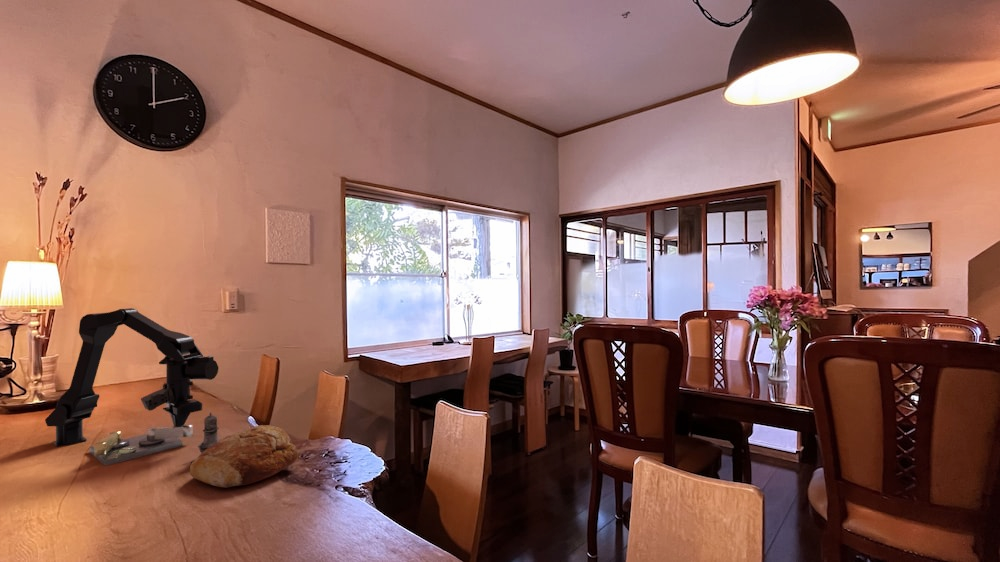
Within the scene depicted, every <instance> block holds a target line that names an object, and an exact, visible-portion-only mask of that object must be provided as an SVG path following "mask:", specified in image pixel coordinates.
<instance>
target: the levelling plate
mask: <svg viewBox="0 0 1000 562" xmlns="http://www.w3.org/2000/svg"><path fill="white" fill-rule="evenodd" d="M144 438H147V433H144V434H140V435H135V436H132V437H131V436H130V437H126V439H128V440H129V444H128V445H126V446H123V447H120V448H116V449H110V450H109V451H107V454H105V455H101V456H95V452H94V445H92V446H89V453H90V454H91V455H92V456H93V457H94V458H95V459H96V460H98V461H99V462H100V463H101V464H102V465H103V466H105V467H106V466H110V465H111V466H112V465H116V464H119V463H122V462H126V461H130V460H133V459H134V460H135V459H136V458H141V457H146V456H149V455H152V454H156V453H160V452H165V451H168V450H172V449H175V448H179V447H183V446H184V444H183V440H182V439H181V438H180V437H177V438H166V439H165V440H164V441H163V442H160V443H157V444H153V445H146V446H141V445H139V441H140V440H141V439H144Z"/></svg>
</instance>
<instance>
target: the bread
mask: <svg viewBox="0 0 1000 562" xmlns="http://www.w3.org/2000/svg"><path fill="white" fill-rule="evenodd" d="M219 440H220V441H218V442H216V443H214V444H213V445H211V446H210V447H209V448H207V449H206V450H205V451H203V452H202V453H201V452H200V454H199V455H198V457H197V458H195V460H194V461H193V462H192V463H191V464H190V465H189V474H190V476H191V477H192V478H194V479H196V480H198V481H199V482H201V483H205V484H208V485H211V486H214V487H218V488H226V489H227V488H232V487H236V486H237V487H240V486H247V485H251V484H254V483H257V482H259V481H262V480H265V479H267V478H269V477H272V476H274V475H277V474H278V473H279V472H281V471H283V470H284V469H285V468H287V467H289V466H291V465H292V464H293V463H295V462H296V461H297V460H298V457H299V452H298V449H297V447H296V446H295V444H293V442H292V439H291V437H290V436H289V434H288V432H287V431H285V430H284V429H283V428H281V427H277V426H276V425H275V426H274V425H269V424H266V425H265V424H261V425H260V424H259V425H256V426H253V427H252V426H251V427H248V428H245V429H243V430H242V431H239V432H236V433H233V434H232V433H231V434H230V435H227V436H225V437H223V438H222V439H219Z"/></svg>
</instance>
